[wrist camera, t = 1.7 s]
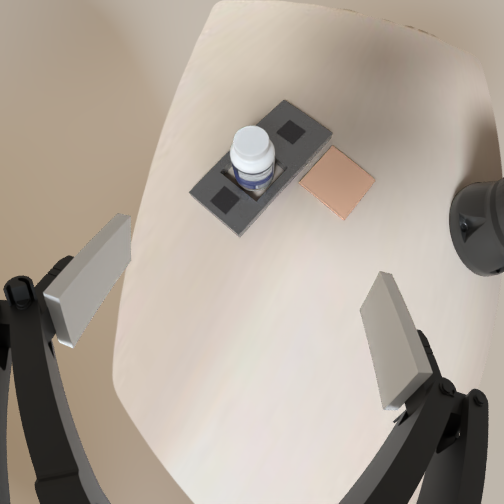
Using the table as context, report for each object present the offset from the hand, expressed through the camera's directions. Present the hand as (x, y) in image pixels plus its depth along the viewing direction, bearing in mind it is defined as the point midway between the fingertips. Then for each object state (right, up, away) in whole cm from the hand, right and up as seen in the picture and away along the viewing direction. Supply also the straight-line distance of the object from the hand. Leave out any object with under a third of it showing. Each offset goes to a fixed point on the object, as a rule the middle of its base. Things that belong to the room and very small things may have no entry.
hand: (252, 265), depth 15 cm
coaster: (+12, +10, +26) cm, 30 cm away
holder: (+2, +13, +26) cm, 29 cm away
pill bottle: (0, +11, +26) cm, 29 cm away
